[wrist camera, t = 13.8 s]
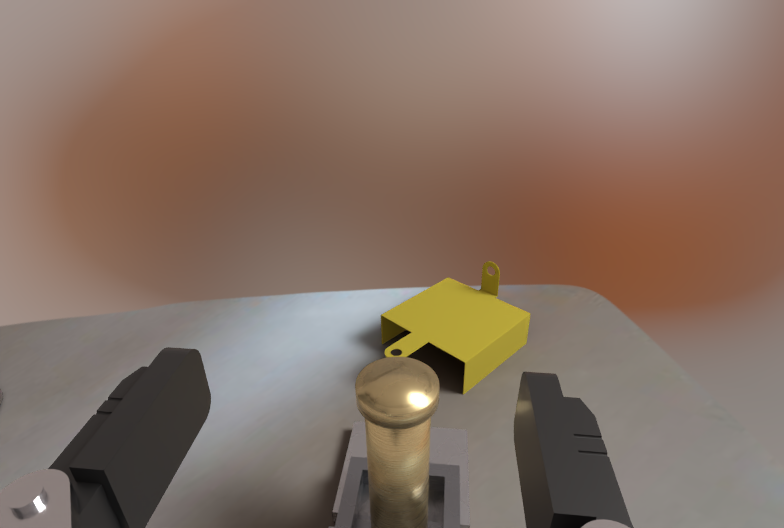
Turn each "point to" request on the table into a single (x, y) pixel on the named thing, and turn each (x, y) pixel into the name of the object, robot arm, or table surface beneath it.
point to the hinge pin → (398, 438)
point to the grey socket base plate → (444, 481)
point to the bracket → (460, 325)
